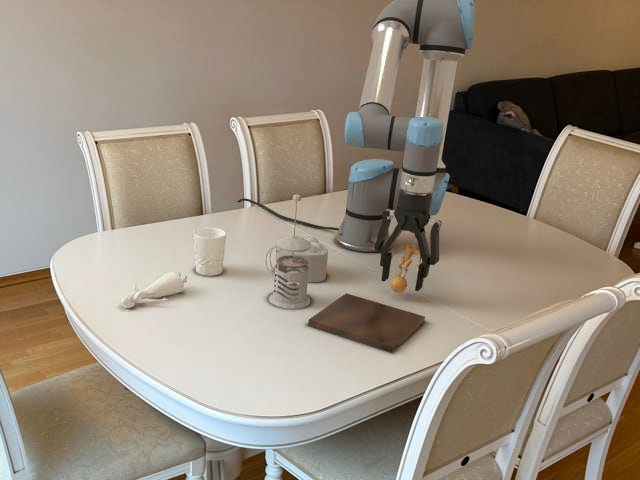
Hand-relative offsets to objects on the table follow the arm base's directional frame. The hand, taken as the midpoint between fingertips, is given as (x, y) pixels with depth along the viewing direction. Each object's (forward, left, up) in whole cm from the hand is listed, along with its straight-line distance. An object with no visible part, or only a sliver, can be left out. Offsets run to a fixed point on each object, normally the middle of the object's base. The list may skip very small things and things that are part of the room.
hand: (401, 284), depth 168 cm
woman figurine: (-45, -37, -4) cm, 59 cm away
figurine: (0, 0, -2) cm, 2 cm away
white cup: (-45, -16, -4) cm, 48 cm away
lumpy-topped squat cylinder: (-26, -2, -4) cm, 26 cm away
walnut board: (0, -18, -3) cm, 19 cm away
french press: (-21, -18, -4) cm, 28 cm away
